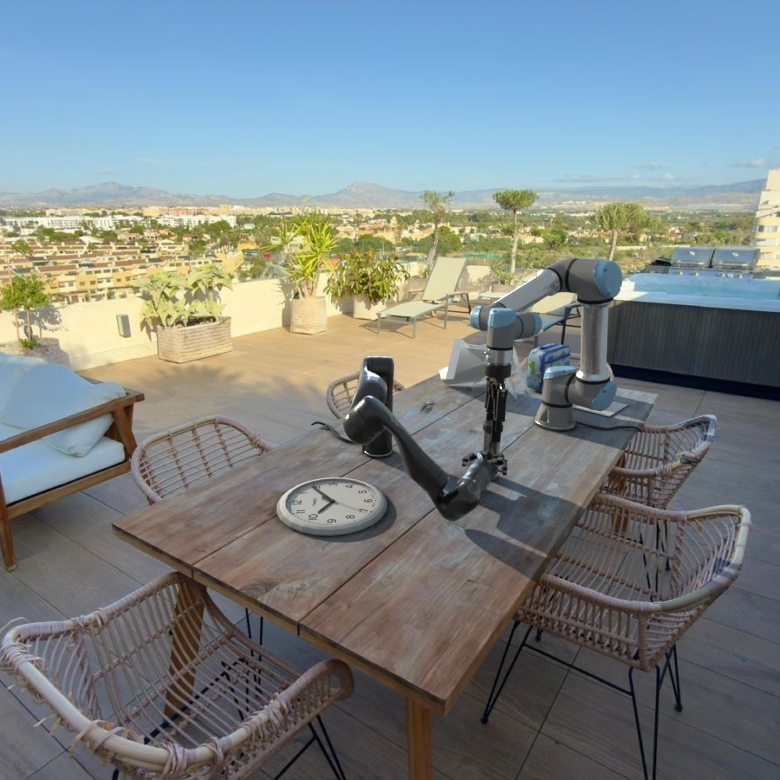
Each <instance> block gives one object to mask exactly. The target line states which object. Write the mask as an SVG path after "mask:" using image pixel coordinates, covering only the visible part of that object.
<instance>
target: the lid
mask: <svg viewBox="0 0 780 780" xmlns="http://www.w3.org/2000/svg"><path fill="white" fill-rule="evenodd" d="M491 429H492V422H491V420H486V419H485V420H484V421H483V424H482V431H483V432H484V431H485V432H486V433H490V434H491ZM503 432H504V422H502V427H501V434H502V433H503Z"/></svg>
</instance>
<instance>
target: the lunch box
mask: <svg viewBox="0 0 780 780" xmlns="http://www.w3.org/2000/svg"><path fill="white" fill-rule="evenodd" d="M570 361H571V347H570V345H565V344H558V343H549V344H545V345H542V346H541V345H540V346H538V347H536V348H533V349H531V351H530V353H529V354H528V358H527V368H526V380H525V381H526V384H527V387H528V390H530V389H531V390H534V391H535V390H536V391H539V392H541V393H542V391H543V381H544V380H543V378H544V374H545V371H546V369H547V368H550V367H554V366H570Z"/></svg>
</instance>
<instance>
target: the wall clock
mask: <svg viewBox="0 0 780 780" xmlns="http://www.w3.org/2000/svg"><path fill="white" fill-rule="evenodd" d="M387 509H388V500H387V498H386V496H385V494H384V493H383V492H382V491H381V490H380V489H379V488H377V487H376V486H374V485H372V484H371V483H369V482H365V481H362V480H359V479H355V478H349V477H338V476H337V477H335V476H333V477H332V476H331V477H322V478H317V479H312V480H307V481H305V482H302V483H299V484H297V485H295V486H293V487H292V488H290V489H288V490H287V491H286V492H285V493H284V494H283V495H281V496H280V498H279V499H278V502H277V503H276V515H277V517H278V518H279V520H280V521H281V522H282V523H283V524H285V525H286V526H287V527H288V528H290V529H293V530H295V531H297V532H299V533H303V534H308V535H312V536H327V537H328V536H329V537H331V536H332V537H333V536H342V535H350V534H352V533H356V532H361V531H363V530H366V529H368V528H369V527H372V526H373V525H375V524H376V523H378V522H379V521H380V520H381V519H382V518H383V517H384V516H385V514H386V512H387Z"/></svg>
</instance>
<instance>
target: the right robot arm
mask: <svg viewBox="0 0 780 780" xmlns="http://www.w3.org/2000/svg"><path fill="white" fill-rule="evenodd" d="M622 286H623V272H622V269H621V267H620V265H618V263H617V262H616V261H614V260H606V259H603V258H602V259H600V258H599V259H597V258H578V257H570V258H565V259H561V260H559V261H556V262H554V263H552V264H550V265H548V266H546V267H544V268H543V269H541V270H539V271H538V272H537V273H536V275H535V277H533V278H532V279H530V280H529V281H527V282H525V283H523V284H522V285H520V286H518V287H517V288H516V289H513V290H512V291H511V292H509V293H507V294H506V295H503V296H502V297H501V298H499V299H498V300H496V301H494V302H493V303H491V304H489V305H488V306H485V305H476V306H474V307H473V308H472V309H471V311H470V314H469V323H470V326H471V327H472V329H475V330H478V331H481V332H487V334H486V337H487V338H486V344H487V348H486V351H485V352H484V354H485V355H486V361H487V362H486V363H485V372H484V374H485V375H486V376H485V377H486V378H485V381H486V382H485V383H486V385H485V386H486V387H485V395H484V396H485V397H484V409H485V412H486V414H485V421H486V420H491V422H492V429H491V442H500V443H501V440H500V438H502V433H501V427H502V423H505V422H506V414H507V413H506V411H507V398H508V392H509V389H507V388H506V383H505V380H506V378H509V377H510V376H511V377H512V368H513V367H512V364H511V363H512V362H513V359H512V358H513V346H514V343H515V341H517V340H523V339H531V338H533V337H535V336H537V335H539V334H540V333H541V331H542V328H543V320H542V317H541V316H540V315H539V313H537V312H535V311H527V310H528V309H529V308H531V307H533V306H534V305H536V304H537V303H539V302H540V301H542V300H543V299H545V298H547V297H553V296H555V295H557V294H560V293H569V294H576V302H577V304H579V305H580V307H581V310H580V314H581V315H580V361H579V362H580V363H579V365H580V367H579V369H578V368H577V367H576V366H571V365H569V366H554V367H550V368H547V369H546V371H545V374H544V378H543V380H544V381H543V391H542V392H541V393H542V394H541V402H540V405H539V407H538V410H537V411H536V413H535V417H534V424H535V425H536V426H537V427H539V428H542V429H544V430H549V431H556V432H567V431H572V430H574V429H575V428H576V425H580V426H584V427H587V428H592V429H596V430H604V431H612V430H617V429H632V430H633V429H634V430H636V431H637V432H639V433H640V434H641V433H642V434H643V430H642V429H640V428H639V427H637V426H634V425H615V426H611V427H605V426H597V425H594V424H588V423H585V422H581V421H579V420H578V421H577V420H576V418H575V417H576V416H575V413H574V407H573V405H574V406H582V407H585V408H589V409H590V410H596V411H604V410H606V409H607V408H608V407H609V406H610V405H611V403H612V402H613V401H614V400H615V398H616V395H617V391H618V385H617V382H615V381H613V380H611V372H610V371H609V369H607V357H608V354H607V353H608V333H609V332H608V330H609V329H608V327H609V309H610V308H609V307H610V304H612V303H613V302H614V301H615V298H616V297H617V296H619V294H620V292H621V288H622Z"/></svg>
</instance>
